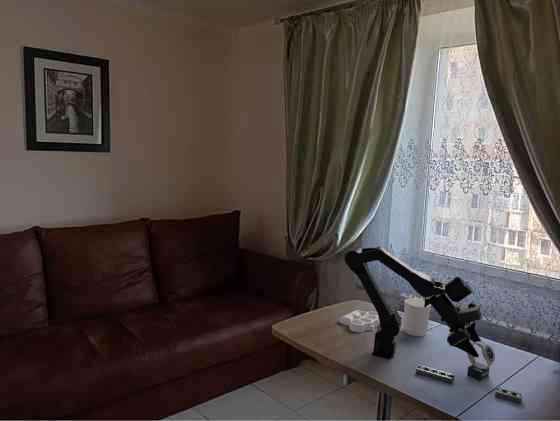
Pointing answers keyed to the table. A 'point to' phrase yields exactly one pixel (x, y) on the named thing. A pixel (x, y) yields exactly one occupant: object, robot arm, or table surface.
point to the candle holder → (416, 317)
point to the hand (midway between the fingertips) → (479, 351)
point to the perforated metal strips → (449, 378)
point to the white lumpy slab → (360, 320)
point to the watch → (478, 369)
